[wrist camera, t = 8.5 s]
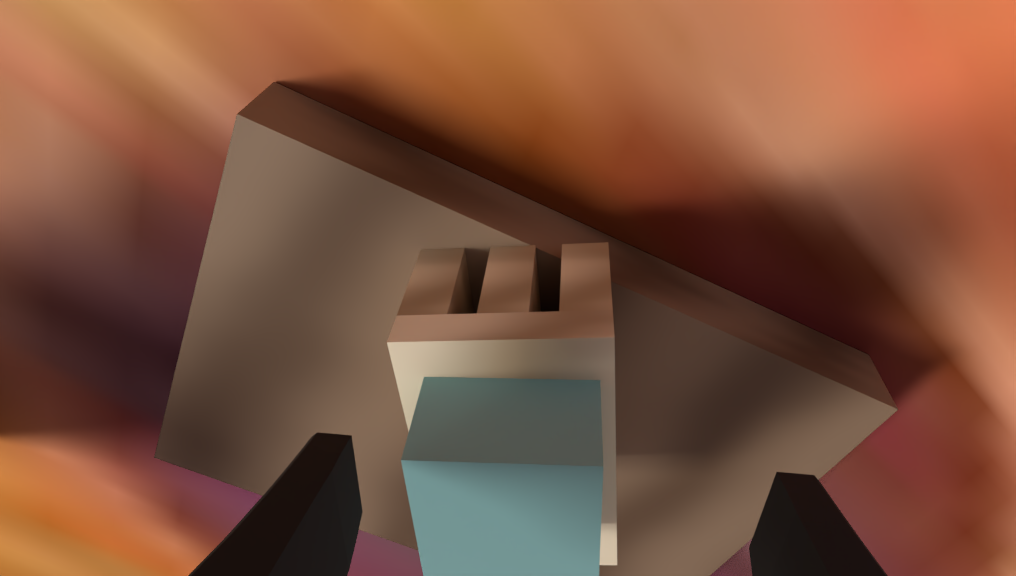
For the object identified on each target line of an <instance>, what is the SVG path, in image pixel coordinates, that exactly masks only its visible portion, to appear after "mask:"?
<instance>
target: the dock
mask: <svg viewBox="0 0 1016 576" xmlns="http://www.w3.org/2000/svg"><path fill="white" fill-rule="evenodd" d="M605 242H608V247H609V262H610V277H611V292H612V306H613V321H614V336H615V416H616V502H617V565H599V576H710V575H711V574H712V573H713V572H714V571H716V570H717V569H718V568H719V567H720V566H721V565H722V564H723V563H725V562H726V561H727V560H728V559H729V558H730V557H731V556H733V555H734V554H735V553H736V552H737V551H738V550H739V549H740V548H742V547H743V546H744V545H745V544H746V543H747V542H748V541H750V540H751V539H752V538H753V536H754V533H755V530H756V527H757V525H758V522H759V519H760V516H761V513H762V511H763V508H764V505H765V502H766V500H767V497H768V494H769V491H770V489H771V486H772V483H773V480H774V478H775V475H776V472H785V473H797V474H809V475H815V477H816V478H817V479H818V480H819V479H820V478H821V477H822V476H823V475H824V474H826V473H827V472H828V471H829V470H830V469H831V468H832V467H833V466H835V465H836V464H837V463H838V462H839V461H840V460H841V459H843V458H844V457H845V456H846V455H847V454H848V453H849V452H850V451H852V450H853V449H854V448H855V447H856V446H857V445H858V444H860V443H861V442H862V441H863V440H864V439H865V438H866V437H867V436H869V435H870V434H871V433H872V432H873V431H874V430H875V429H877V428H878V427H879V426H880V425H881V424H882V423H883V422H884V421H886V420H887V419H888V418H889V417H890V416H891V415H892V414H894V413H895V412H896V411H897V410H898V408H897V406H896V405H895V403H894V401H893V399H892V397H891V395H890V393H889V392H888V390H887V388H886V386H885V384H884V382H883V380H882V378H881V377H880V375H879V373H878V371H877V369H876V367H875V365H874V364H873V362H872V360H871V358H870V356H869V355H868V354H866V353H863V352H861V351H859V350H857V349H855V348H852V347H850V346H848V345H846V344H844V343H842V342H839V341H837V340H835V339H833V338H831V337H829V336H826V335H824V334H822V333H820V332H818V331H815V330H813V329H811V328H809V327H807V326H805V325H802V324H800V323H798V322H796V321H794V320H792V319H789V318H787V317H785V316H783V315H781V314H778V313H776V312H774V311H772V310H770V309H768V308H765V307H763V306H761V305H759V304H757V303H755V302H752V301H750V300H748V299H746V298H744V297H741V296H739V295H737V294H735V293H733V292H731V291H728V290H726V289H724V288H722V287H720V286H718V285H715V284H713V283H711V282H709V281H707V280H704V279H702V278H700V277H698V276H696V275H694V274H691V273H689V272H687V271H685V270H683V269H681V268H678V267H676V266H674V265H672V264H670V263H667V262H665V261H663V260H661V259H659V258H657V257H654V256H652V255H650V254H648V253H646V252H644V251H641V250H639V249H637V248H635V247H633V246H630V245H628V244H626V243H624V242H622V241H620V240H617V239H615V238H613V237H611V236H609V235H607V234H604V233H602V232H600V231H598V230H596V229H593V228H591V227H589V226H587V225H585V224H583V223H580V222H578V221H576V220H574V219H572V218H570V217H567V216H565V215H563V214H561V213H559V212H556V211H554V210H552V209H550V208H548V207H546V206H543V205H541V204H539V203H537V202H535V201H533V200H530V199H528V198H526V197H524V196H522V195H519V194H517V193H515V192H513V191H511V190H509V189H506V188H504V187H502V186H500V185H498V184H496V183H493V182H491V181H489V180H487V179H485V178H482V177H480V176H478V175H476V174H474V173H472V172H469V171H467V170H465V169H463V168H461V167H458V166H456V165H454V164H452V163H450V162H448V161H445V160H443V159H441V158H439V157H437V156H435V155H432V154H430V153H428V152H426V151H424V150H421V149H419V148H417V147H415V146H413V145H411V144H408V143H406V142H404V141H402V140H400V139H398V138H395V137H393V136H391V135H389V134H387V133H384V132H382V131H380V130H378V129H376V128H374V127H371V126H369V125H367V124H365V123H363V122H361V121H358V120H356V119H354V118H352V117H350V116H347V115H345V114H343V113H341V112H339V111H337V110H334V109H332V108H330V107H328V106H326V105H324V104H321V103H319V102H317V101H315V100H313V99H310V98H308V97H306V96H304V95H302V94H300V93H297V92H295V91H293V90H291V89H289V88H287V87H284V86H282V85H280V84H278V83H276V82H273V83H272V84H271V85H270V86H269V87H268V88H266V89H265V90H264V91H263V92H262V93H261V94H260V95H258V96H257V97H256V98H255V99H254V100H253V101H252V102H250V103H249V104H248V105H247V106H246V107H245V108H244V109H242V110H241V111H240V112H239V113H238V114H237V116H236V121H235V125H234V129H233V133H232V137H231V141H230V146H229V150H228V154H227V158H226V162H225V166H224V170H223V175H222V179H221V183H220V187H219V191H218V195H217V199H216V204H215V208H214V212H213V216H212V220H211V224H210V228H209V233H208V237H207V241H206V245H205V249H204V253H203V257H202V262H201V266H200V270H199V274H198V278H197V282H196V286H195V291H194V295H193V299H192V303H191V307H190V311H189V315H188V320H187V324H186V328H185V332H184V336H183V340H182V344H181V349H180V353H179V357H178V361H177V365H176V369H175V373H174V378H173V382H172V386H171V390H170V394H169V398H168V402H167V407H166V411H165V415H164V419H163V423H162V427H161V431H160V436H159V440H158V444H157V448H156V452H155V456H154V458H157V459H160V460H163V461H166V462H168V463H171V464H174V465H177V466H180V467H183V468H185V469H188V470H191V471H194V472H197V473H200V474H203V475H205V476H208V477H211V478H214V479H217V480H220V481H222V482H225V483H228V484H231V485H234V486H237V487H239V488H242V489H245V490H248V491H251V492H254V493H257V494H259V495H262V496H263V495H264V494H265V493H266V492H267V490H268V489H269V488H270V487H271V486H272V485H273V483H274V482H275V481H276V480H277V479H278V477H279V476H280V475H281V474H282V473H283V471H284V470H285V469H286V468H287V467H288V465H289V464H290V463H291V462H292V460H293V459H294V458H295V457H296V455H297V454H298V453H299V452H300V451H301V449H302V448H303V447H304V446H305V444H306V443H307V442H308V440H309V439H310V438H311V437H312V436H313V435H314V434H316V433H317V432H319V433H331V434H342V435H352V442H353V449H354V456H355V462H356V469H357V476H358V483H359V490H360V497H361V504H362V511H363V512H362V517H361V521H360V526H359V530H362V531H365V532H368V533H370V534H373V535H376V536H379V537H382V538H385V539H387V540H390V541H393V542H396V543H399V544H402V545H405V546H407V547H410V548H413V549H416V550H418V545H417V540H416V535H415V530H414V525H413V519H412V514H411V509H410V504H409V499H408V494H407V489H406V484H405V478H404V473H403V468H402V463H401V458H402V454H403V451H404V447H405V444H406V440H407V436H408V433H409V432H408V428H407V423H406V419H405V415H404V411H403V407H402V403H401V399H400V395H399V390H398V386H397V382H396V378H395V374H394V370H393V366H392V362H391V357H390V353H389V349H388V345H387V340H388V338H389V335H390V332H391V330H392V327H393V324H394V321H395V319H396V316H397V313H398V310H399V308H400V305H401V302H402V299H403V297H404V294H405V291H406V288H407V286H408V283H409V280H410V278H411V275H412V272H413V269H414V267H415V264H416V261H417V258H418V256H419V253H420V250H422V249H448V248H465V254H466V261H467V267H468V274H469V281H470V288H471V294H472V301H473V308H474V314H475V313H477V310H478V305H479V300H480V295H481V291H482V286H483V281H484V276H485V271H486V266H487V261H488V257H489V252H490V247H500V246H526V245H535V246H536V258H537V269H538V281H539V293H540V305H541V312H551V311H559V307H560V282H561V257H562V244H579V243H605Z"/></svg>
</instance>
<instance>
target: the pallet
mask: <svg viewBox="0 0 1016 576" xmlns="http://www.w3.org/2000/svg"><path fill="white" fill-rule="evenodd" d="M387 345H388V349H389V353H390V357H391V362H392V366H393V370H394V374H395V378H396V382H397V386H398V390H399V395H400V399H401V403H402V407H403V411H404V415H405V419H406V423H407V428H408V432H409V429H410V426H411V422H412V418H413V415H414V411H415V407H416V404H417V400H418V397H419V393H420V389H421V386H422V382H423V379H424V377H465V378H516V379H567V380H600V387H601V415H602V442H603V490H602V515H601V539H600V564H599V565H617V502H616V416H615V336H614V321H613V306H612V292H611V277H610V262H609V247H608V242H605V243H579V244H562V257H561V282H560V307H559V311H551V312H541V305H540V293H539V281H538V269H537V258H536V246H535V245H526V246H500V247H490V252H489V257H488V261H487V266H486V271H485V276H484V281H483V286H482V291H481V295H480V300H479V305H478V310H477V313H475V314H474V308H473V301H472V294H471V288H470V281H469V274H468V267H467V261H466V254H465V248H448V249H422V250H420V253H419V256H418V258H417V261H416V264H415V267H414V269H413V272H412V275H411V278H410V280H409V283H408V286H407V288H406V291H405V294H404V297H403V299H402V302H401V305H400V308H399V310H398V313H397V316H396V319H395V321H394V324H393V327H392V330H391V332H390V335H389V338H388V340H387Z"/></svg>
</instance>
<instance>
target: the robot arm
mask: <svg viewBox="0 0 1016 576" xmlns="http://www.w3.org/2000/svg"><path fill="white" fill-rule="evenodd" d="M362 512H363V511H362V504H361V497H360V490H359V483H358V476H357V469H356V462H355V456H354V449H353V442H352V435H342V434H331V433H319V432H317V433H316V434H314V435H313V436H312V437H311V438H310V439H309V440H308V442H307V443H306V444H305V446H304V447H303V448H302V449H301V451H300V452H299V453H298V454H297V455H296V457H295V458H294V459H293V460H292V462H291V463H290V464H289V465H288V467H287V468H286V469H285V470H284V471H283V473H282V474H281V475H280V476H279V477H278V479H277V480H276V481H275V482H274V483H273V485H272V486H271V487H270V488H269V489H268V490H267V492H266V493H265V494H264V495H263V496H262V497H261V499H260V500H259V501H258V502H257V503H256V504H255V505H254V506H253V508H252V509H251V510H250V511H249V512H248V513H247V514H246V515H245V517H244V518H243V519H242V520H241V521H240V522H239V523H238V524H237V525H236V527H235V528H234V529H233V530H232V531H231V532H230V533H229V534H228V535H227V536H226V538H225V539H224V540H223V541H222V542H221V543H220V544H219V545H218V546H217V547H216V548H215V549H214V550H213V551H212V552H211V553H210V554H209V555H208V556H207V557H206V558H205V559H204V560H203V561H202V562H201V563H200V564H199V565H198V566H197V567H196V568H195V569H194V570H193V571H192V572H191V573H190V575H189V576H347V574H348V571H349V568H350V564H351V559H352V555H353V551H354V547H355V543H356V539H357V534H358V530H359V526H360V521H361V517H362ZM749 550H750V558H751V567H752V575H753V576H887V574H886V573H885V572H884V570H883V569H882V568H881V566H880V565H879V564H878V562H877V561H876V560H875V558H874V557H873V556H872V554H871V553H870V552H869V550H868V549H867V547H866V546H865V545H864V543H863V542H862V541H861V539H860V538H859V536H858V535H857V534H856V532H855V531H854V530H853V528H852V527H851V525H850V524H849V523H848V521H847V520H846V518H845V517H844V516H843V514H842V513H841V511H840V510H839V508H838V507H837V506H836V504H835V503H834V501H833V500H832V498H831V497H830V496H829V494H828V493H827V491H826V490H825V489H824V487H823V486H822V484H821V483H820V481H819V480H818V479H817V478H816V477H815V475H809V474H797V473H785V472H776V475H775V478H774V480H773V483H772V486H771V489H770V491H769V494H768V497H767V500H766V502H765V505H764V508H763V511H762V513H761V516H760V519H759V522H758V525H757V527H756V530H755V533H754V536H753V538H752V541H751V544H750V547H749Z"/></svg>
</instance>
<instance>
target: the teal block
mask: <svg viewBox="0 0 1016 576" xmlns="http://www.w3.org/2000/svg"><path fill="white" fill-rule="evenodd" d="M401 463H402V468H403V473H404V478H405V484H406V489H407V494H408V499H409V504H410V509H411V514H412V519H413V525H414V530H415V535H416V540H417V545H418V550H419V555H420V560H421V565H422V571H423V576H599V564H600V539H601V515H602V490H603V442H602V415H601V387H600V380H567V379H516V378H465V377H424V379H423V382H422V386H421V389H420V393H419V397H418V400H417V404H416V407H415V411H414V415H413V418H412V422H411V426H410V429H409V433H408V436H407V440H406V444H405V447H404V451H403V454H402V458H401Z"/></svg>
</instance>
